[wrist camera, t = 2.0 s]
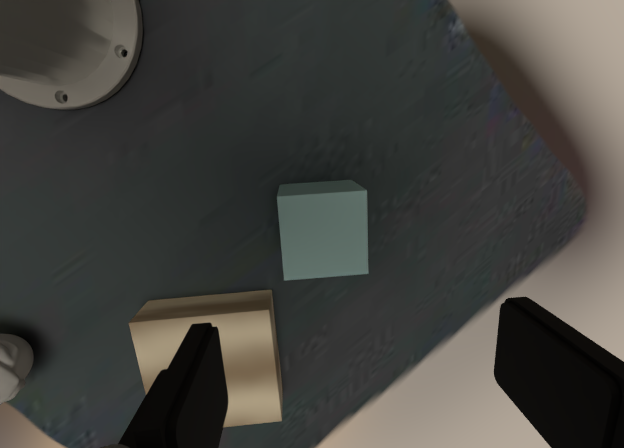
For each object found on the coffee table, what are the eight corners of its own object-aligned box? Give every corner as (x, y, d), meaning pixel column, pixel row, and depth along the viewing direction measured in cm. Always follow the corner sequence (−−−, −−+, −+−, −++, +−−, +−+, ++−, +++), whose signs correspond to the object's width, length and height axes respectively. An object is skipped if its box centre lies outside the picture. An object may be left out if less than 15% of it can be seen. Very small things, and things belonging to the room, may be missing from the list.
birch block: (150, 298, 29) (128, 322, 26) (271, 287, 30) (268, 309, 26) (172, 399, 32) (155, 434, 28) (282, 387, 33) (281, 420, 29)
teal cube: (279, 184, 27) (276, 196, 21) (350, 179, 27) (366, 190, 22) (285, 252, 29) (284, 280, 23) (352, 246, 29) (368, 273, 23)
